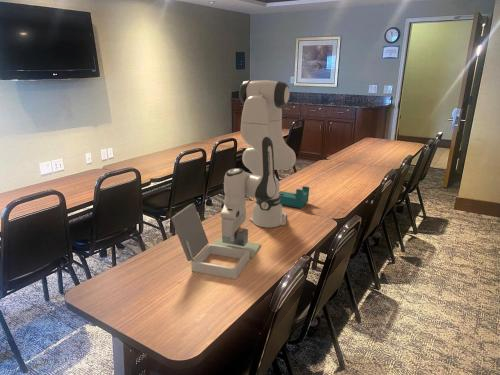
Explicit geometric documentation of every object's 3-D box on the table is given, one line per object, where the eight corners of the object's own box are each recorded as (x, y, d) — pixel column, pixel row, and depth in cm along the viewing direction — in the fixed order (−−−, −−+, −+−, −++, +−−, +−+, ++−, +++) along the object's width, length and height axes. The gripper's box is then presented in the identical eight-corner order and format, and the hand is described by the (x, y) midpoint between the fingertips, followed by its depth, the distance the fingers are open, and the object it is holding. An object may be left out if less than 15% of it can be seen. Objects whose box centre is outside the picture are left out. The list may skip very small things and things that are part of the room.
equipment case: (204, 251, 151) (203, 224, 147) (249, 258, 145) (249, 231, 141) (186, 270, 136) (185, 241, 132) (235, 279, 130) (235, 249, 127)
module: (226, 238, 156) (226, 225, 154) (247, 242, 153) (247, 228, 151) (222, 242, 152) (222, 229, 150) (243, 246, 149) (243, 232, 147)
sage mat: (218, 239, 162) (218, 237, 162) (260, 245, 156) (260, 243, 156) (207, 250, 151) (207, 249, 151) (252, 258, 145) (252, 256, 145)
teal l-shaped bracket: (307, 204, 209) (309, 187, 206) (300, 208, 200) (302, 190, 197) (280, 198, 218) (281, 182, 215) (272, 202, 208) (273, 185, 206)
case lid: (208, 242, 149) (205, 243, 149) (193, 203, 145) (190, 203, 146) (191, 260, 134) (187, 261, 135) (174, 217, 131) (170, 218, 131)
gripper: (236, 199, 158) (236, 227, 162) (218, 215, 140) (219, 246, 144) (249, 200, 156) (249, 229, 161) (233, 216, 138) (234, 249, 142)
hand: (235, 237), depth 152 cm, fingers closed on module, 5 cm apart
